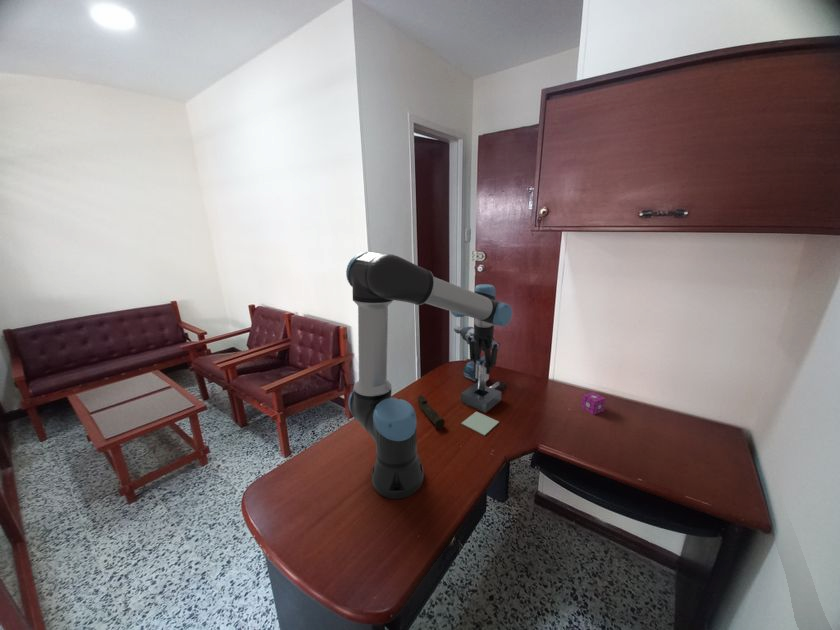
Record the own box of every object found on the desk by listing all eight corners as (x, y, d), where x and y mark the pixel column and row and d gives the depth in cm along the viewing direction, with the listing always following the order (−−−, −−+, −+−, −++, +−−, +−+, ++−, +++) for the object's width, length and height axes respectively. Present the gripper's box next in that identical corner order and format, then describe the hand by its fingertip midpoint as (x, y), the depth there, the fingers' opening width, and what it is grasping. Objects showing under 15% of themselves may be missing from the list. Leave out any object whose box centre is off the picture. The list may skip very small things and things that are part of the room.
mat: (484, 435, 108) (484, 434, 108) (461, 424, 115) (461, 423, 115) (499, 422, 115) (499, 421, 115) (476, 412, 122) (476, 411, 122)
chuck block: (485, 412, 121) (486, 404, 120) (460, 401, 129) (460, 393, 128) (510, 392, 135) (510, 384, 134) (486, 383, 143) (486, 375, 142)
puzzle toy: (591, 404, 126) (592, 391, 124) (603, 411, 121) (605, 398, 119) (580, 407, 124) (582, 394, 122) (593, 415, 119) (595, 402, 117)
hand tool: (445, 427, 113) (445, 416, 112) (435, 430, 112) (435, 419, 111) (424, 402, 130) (424, 392, 129) (415, 404, 129) (415, 394, 127)
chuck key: (480, 393, 124) (481, 362, 120) (473, 390, 126) (474, 360, 122) (489, 386, 129) (490, 356, 125) (482, 383, 131) (484, 354, 127)
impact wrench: (459, 366, 160) (460, 320, 153) (495, 382, 144) (498, 332, 136) (449, 371, 156) (449, 324, 148) (484, 388, 139) (486, 336, 132)
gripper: (507, 326, 117) (504, 381, 124) (472, 318, 128) (470, 369, 134) (497, 331, 112) (494, 389, 118) (461, 322, 122) (460, 375, 129)
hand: (482, 378), depth 126 cm, fingers closed on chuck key, 3 cm apart
